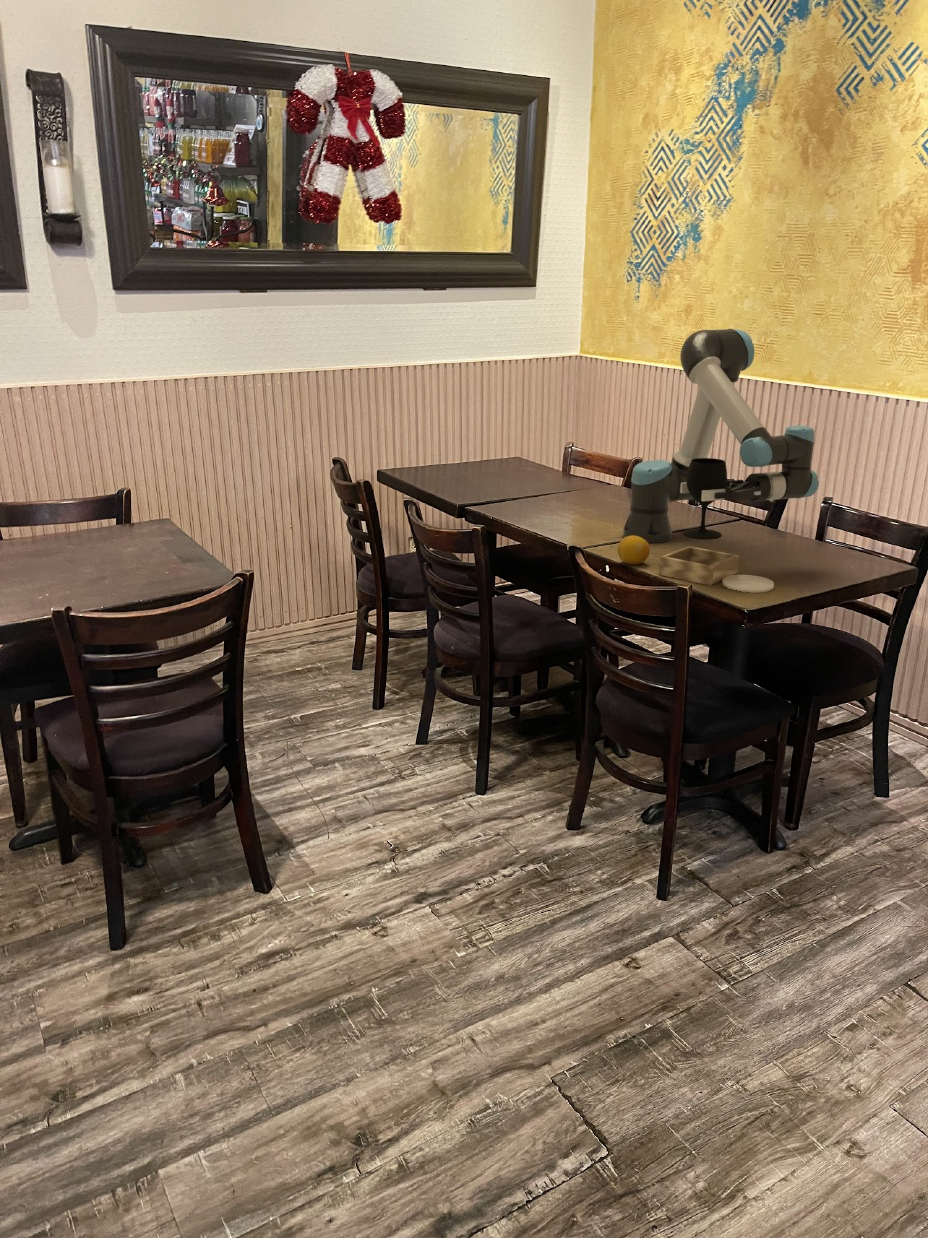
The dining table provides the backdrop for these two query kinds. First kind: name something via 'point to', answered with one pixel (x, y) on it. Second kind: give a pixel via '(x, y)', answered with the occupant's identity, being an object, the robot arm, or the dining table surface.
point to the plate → (748, 583)
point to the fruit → (633, 550)
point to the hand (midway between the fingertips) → (691, 491)
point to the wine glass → (705, 478)
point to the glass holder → (698, 565)
